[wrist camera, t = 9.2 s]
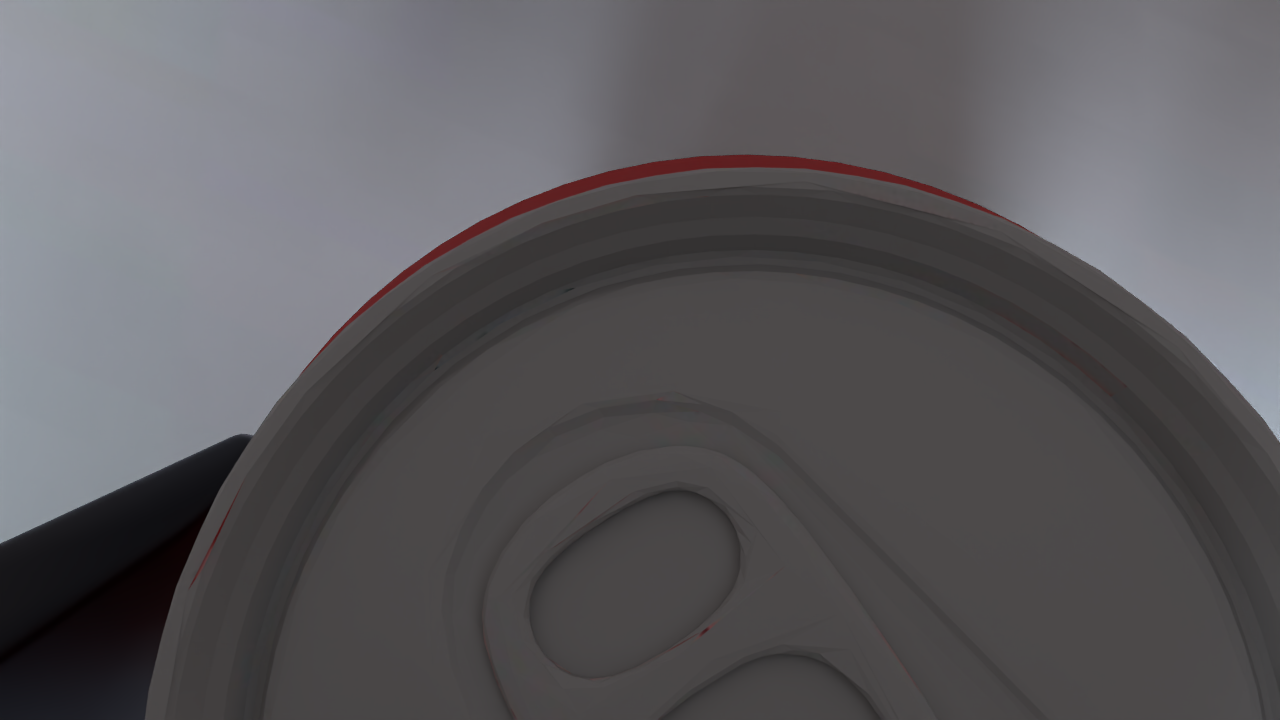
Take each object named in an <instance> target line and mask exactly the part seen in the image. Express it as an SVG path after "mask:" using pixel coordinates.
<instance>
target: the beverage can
mask: <svg viewBox="0 0 1280 720" xmlns="http://www.w3.org/2000/svg"><path fill="white" fill-rule="evenodd" d="M145 720H1280V442H1279V441H1278V440H1277V438H1276V437H1275V435H1274V434H1273V432H1272V431H1271V430H1270V428H1269V427H1268V425H1267V424H1266V422H1265V421H1264V420H1263V418H1262V417H1261V416H1260V415H1259V414H1258V413H1257V412H1256V410H1255V409H1254V408H1253V407H1252V406H1251V405H1250V404H1249V403H1248V402H1247V400H1246V399H1245V398H1244V397H1243V396H1242V395H1241V394H1240V393H1239V391H1238V390H1237V389H1236V388H1235V387H1234V386H1233V385H1232V384H1231V383H1230V381H1229V380H1228V379H1227V378H1226V377H1225V376H1224V375H1223V374H1222V373H1221V372H1220V371H1219V370H1218V369H1217V368H1216V367H1215V366H1214V365H1213V364H1212V363H1211V362H1210V361H1209V360H1208V359H1207V358H1206V357H1205V356H1204V355H1203V354H1202V353H1201V352H1200V351H1199V350H1198V349H1197V348H1196V346H1195V345H1194V344H1193V343H1192V342H1191V341H1190V340H1189V339H1188V338H1187V337H1186V336H1184V335H1183V334H1182V333H1181V332H1179V331H1178V330H1177V329H1176V328H1174V327H1173V326H1172V325H1171V324H1169V323H1168V322H1167V321H1166V320H1164V319H1163V318H1162V317H1161V316H1159V315H1158V314H1157V313H1156V312H1154V311H1153V310H1152V309H1151V308H1149V307H1148V306H1147V305H1146V304H1144V303H1143V302H1142V301H1140V300H1139V299H1138V298H1136V297H1135V296H1134V295H1132V294H1131V293H1130V292H1128V291H1127V290H1126V289H1124V288H1123V287H1121V286H1120V285H1119V284H1117V283H1116V282H1115V281H1113V280H1112V279H1111V278H1109V277H1108V276H1107V275H1105V274H1104V273H1103V272H1101V271H1100V270H1098V269H1096V268H1095V267H1093V266H1091V265H1089V264H1088V263H1086V262H1084V261H1082V260H1081V259H1079V258H1077V257H1075V256H1074V255H1072V254H1070V253H1068V252H1066V251H1065V250H1063V249H1061V248H1059V247H1058V246H1056V245H1054V244H1052V243H1050V242H1048V241H1046V240H1044V239H1043V238H1041V237H1039V236H1037V235H1035V234H1034V233H1032V232H1030V231H1029V230H1027V229H1025V228H1024V227H1022V226H1020V225H1018V224H1016V223H1014V222H1012V221H1010V220H1008V219H1006V218H1004V217H1002V216H1000V215H998V214H996V213H994V212H992V211H990V210H988V209H986V208H984V207H982V206H980V205H978V204H975V203H973V202H970V201H968V200H965V199H963V198H960V197H957V196H955V195H952V194H950V193H947V192H945V191H942V190H940V189H937V188H934V187H932V186H929V185H925V184H922V183H919V182H915V181H912V180H909V179H905V178H902V177H899V176H895V175H892V174H889V173H885V172H881V171H876V170H871V169H866V168H862V167H857V166H852V165H848V164H843V163H838V162H830V161H822V160H814V159H806V158H799V157H787V156H765V155H725V156H699V157H691V158H683V159H675V160H666V161H658V162H651V163H647V164H642V165H637V166H632V167H627V168H622V169H618V170H613V171H608V172H605V173H601V174H598V175H595V176H591V177H588V178H584V179H581V180H578V181H574V182H571V183H568V184H564V185H562V186H559V187H556V188H554V189H551V190H549V191H546V192H544V193H541V194H538V195H536V196H533V197H531V198H528V199H526V200H523V201H521V202H519V203H517V204H514V205H512V206H510V207H508V208H506V209H504V210H502V211H500V212H498V213H496V214H494V215H492V216H490V217H488V218H486V219H484V220H482V221H480V222H478V223H476V224H475V225H473V226H471V227H470V228H468V229H466V230H464V231H463V232H461V233H459V234H458V235H456V236H454V237H453V238H451V239H449V240H448V241H446V242H444V243H443V244H441V245H439V246H438V247H437V248H435V249H434V250H432V251H431V252H430V253H428V254H427V255H425V256H424V257H423V258H421V259H420V260H418V261H417V262H415V263H414V264H413V265H411V266H410V267H408V268H407V269H406V270H404V271H403V272H402V273H400V274H399V275H398V276H397V277H396V278H395V279H393V280H392V281H391V282H390V283H389V284H387V285H386V286H385V287H384V288H383V289H381V290H380V291H379V292H378V293H377V294H376V295H374V296H373V297H372V298H371V299H370V300H368V301H367V302H366V303H365V304H364V305H363V306H362V307H361V308H360V309H359V310H358V311H357V312H356V313H355V314H354V315H353V316H352V317H351V318H350V319H349V320H348V321H347V322H346V323H345V324H344V325H343V326H342V327H341V328H340V329H339V330H338V331H337V332H336V333H335V334H334V335H333V336H332V337H331V339H330V340H329V341H328V342H327V343H326V344H325V346H324V347H323V348H322V349H321V350H320V351H319V353H318V354H317V355H316V356H315V357H314V359H313V360H312V361H311V362H310V363H309V364H308V366H307V367H306V368H305V369H304V370H303V372H302V373H301V374H300V376H299V377H298V378H297V380H296V381H295V382H294V383H293V384H292V385H291V386H290V388H289V389H288V390H287V391H286V392H285V393H284V394H283V396H282V397H281V398H280V399H279V400H278V401H277V402H276V404H275V405H274V407H273V408H272V410H271V411H270V413H269V414H268V416H267V417H266V418H265V420H264V421H263V423H262V424H261V426H260V427H259V429H258V430H257V432H256V433H255V435H254V436H253V437H252V439H251V440H250V442H249V443H248V445H247V446H246V448H245V450H244V451H243V453H242V454H241V456H240V458H239V459H238V461H237V462H236V464H235V466H234V467H233V469H232V470H231V472H230V473H229V475H228V477H227V478H226V480H225V481H224V483H223V485H222V486H221V488H220V489H219V492H218V494H217V496H216V498H215V500H214V502H213V504H212V506H211V508H210V511H209V513H208V515H207V517H206V519H205V521H204V523H203V525H202V528H201V530H200V532H199V534H198V536H197V539H196V541H195V543H194V546H193V548H192V550H191V553H190V555H189V558H188V560H187V562H186V565H185V567H184V569H183V572H182V574H181V576H180V579H179V581H178V584H177V586H176V589H175V592H174V596H173V599H172V603H171V606H170V610H169V613H168V617H167V620H166V623H165V627H164V630H163V634H162V637H161V642H160V646H159V650H158V654H157V658H156V662H155V667H154V671H153V675H152V679H151V683H150V687H149V691H148V699H147V707H146V714H145Z"/></svg>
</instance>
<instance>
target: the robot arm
mask: <svg viewBox="0 0 1280 720" xmlns="http://www.w3.org/2000/svg"><path fill="white" fill-rule="evenodd" d="M252 437H253V436H252V435H248V434H239V435H235V436H233V437H230V438H228V439H226V440H224V441H222V442H219V443H217V444H215V445H213V446H211V447H209V448H206V449H204V450H202V451H200V452H198V453H196V454H193V455H191V456H189V457H187V458H185V459H183V460H180V461H178V462H176V463H174V464H172V465H170V466H167V467H165V468H163V469H161V470H159V471H157V472H154V473H152V474H150V475H148V476H146V477H144V478H141V479H139V480H137V481H135V482H133V483H131V484H128V485H126V486H124V487H122V488H120V489H118V490H116V491H113V492H111V493H109V494H107V495H105V496H103V497H100V498H98V499H96V500H94V501H92V502H90V503H87V504H85V505H83V506H81V507H79V508H77V509H74V510H72V511H70V512H68V513H66V514H64V515H61V516H59V517H57V518H55V519H53V520H51V521H48V522H46V523H44V524H42V525H40V526H38V527H35V528H33V529H31V530H29V531H27V532H25V533H22V534H20V535H18V536H16V537H14V538H12V539H9V540H7V541H5V542H3V543H1V544H0V720H145V714H146V707H147V699H148V691H149V687H150V683H151V679H152V675H153V671H154V667H155V662H156V658H157V654H158V650H159V646H160V642H161V637H162V634H163V630H164V627H165V623H166V620H167V617H168V613H169V610H170V606H171V603H172V599H173V596H174V592H175V589H176V586H177V584H178V581H179V579H180V576H181V574H182V572H183V569H184V567H185V565H186V562H187V560H188V558H189V555H190V553H191V550H192V548H193V546H194V543H195V541H196V539H197V536H198V534H199V532H200V530H201V528H202V525H203V523H204V521H205V519H206V517H207V515H208V513H209V511H210V508H211V506H212V504H213V502H214V500H215V498H216V496H217V494H218V492H219V489H220V488H221V486H222V485H223V483H224V481H225V480H226V478H227V477H228V475H229V473H230V472H231V470H232V469H233V467H234V466H235V464H236V462H237V461H238V459H239V458H240V456H241V454H242V453H243V451H244V450H245V448H246V446H247V445H248V443H249V442H250V440H251V439H252Z"/></svg>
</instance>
